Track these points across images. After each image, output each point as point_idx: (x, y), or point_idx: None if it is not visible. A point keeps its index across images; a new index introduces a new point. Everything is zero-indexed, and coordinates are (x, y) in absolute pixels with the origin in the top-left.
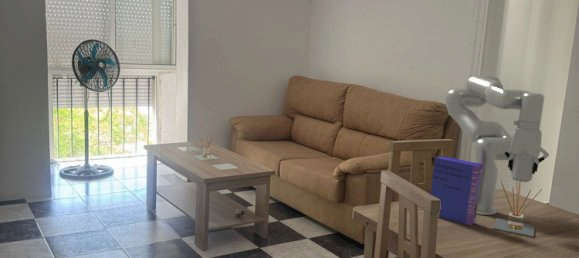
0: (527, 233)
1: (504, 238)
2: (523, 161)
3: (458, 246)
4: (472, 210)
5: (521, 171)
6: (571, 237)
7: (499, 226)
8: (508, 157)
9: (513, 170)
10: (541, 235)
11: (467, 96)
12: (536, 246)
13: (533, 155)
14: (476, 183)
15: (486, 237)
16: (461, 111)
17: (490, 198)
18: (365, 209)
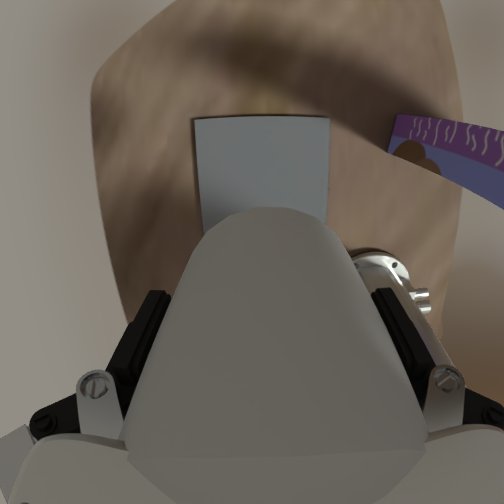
0: (215, 132)
1: (284, 47)
2: (277, 334)
3: None
4: (424, 117)
5: (277, 240)
6: (104, 209)
7: (311, 147)
8: (456, 390)
9: (358, 273)
10: (175, 162)
11: None
12: (182, 42)
13: (91, 462)
14: (499, 136)
15: (338, 27)
16: None
17: None
18: None
